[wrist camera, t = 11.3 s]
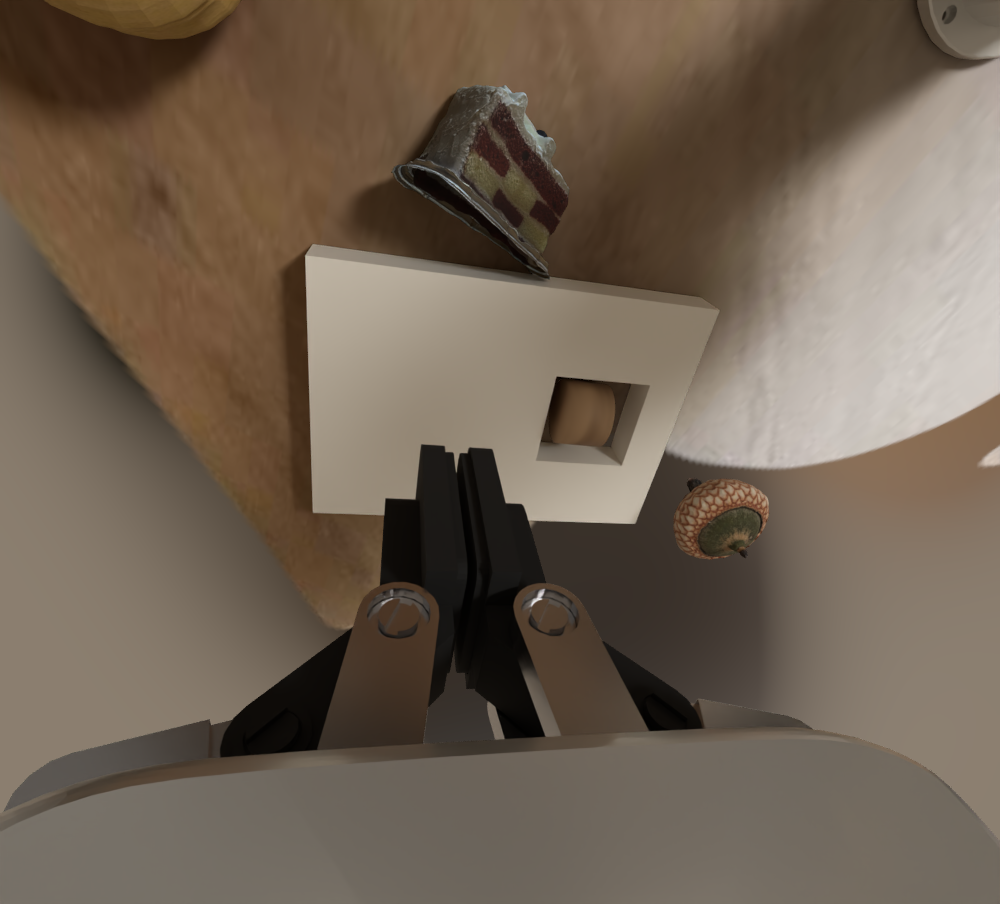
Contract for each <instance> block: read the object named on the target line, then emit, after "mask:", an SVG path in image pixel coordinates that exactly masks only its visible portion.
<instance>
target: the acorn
mask: <svg viewBox="0 0 1000 904" xmlns="http://www.w3.org/2000/svg"><path fill="white" fill-rule="evenodd" d="M688 480H689V481H688V482H687V486H688V487H689V490H690V493H689V494H687V495H686V496H685V497H684V498H683V500H682V501H681V503H680V504H679V506H678V507H677V509H676V512H675V515H674V518H673V520H674V526H673V527H674V533H675V537H676V540H677V544H678V546H679V547H680V549H682V550H683V551H684V552H685V553H687V554H688V555H692V556H695V557H697V558H703V559H710V560H711V559H716V558H725V557H727V556H730V555H732V554H735V553H737V552H739V553H740V555H741V556H743V557H744V558H747V556H748V555H747V551H746V550H745V548H747V547H749V545H750V544H751V543H752V542H754V541H755V540H756V539H757V538H758V537H759V535H760V534H761V533H762V530H763V528H764V527H765V524H766V522H767V520H768V515H769V508H768V505H769V503H768V499H767V497H766V496H765V495H764V494H763V493H762V492H761V491H760V490H758V489H756V488H755V487H753V486H752V485H749V484H747V483H744V482H741V481H739V480H733V479H718V480H709V481H707V482H705V483H702V481H700V480H698V479H692V478H688Z"/></svg>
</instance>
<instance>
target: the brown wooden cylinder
mask: <svg viewBox="0 0 1000 904" xmlns="http://www.w3.org/2000/svg"><path fill="white" fill-rule="evenodd" d="M614 417H615V399H614V394H613V391H612V389H611V387H610V386H609V385H608V384H602V383H594V382H586V381H578V380H570V379H561V380H560V381H559V382H558V383H557V385H556V386H555V389H554V391H553V394H552V398H551V402H550V408H549V432H550V436H551V439H552V441H553V442H554V443H560V444H570V445H581V446H592V447H601V446H603V445H604V443H606V441H607V439H608V438H609V436H610V433H611V430H612V427H613V423H614Z"/></svg>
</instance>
